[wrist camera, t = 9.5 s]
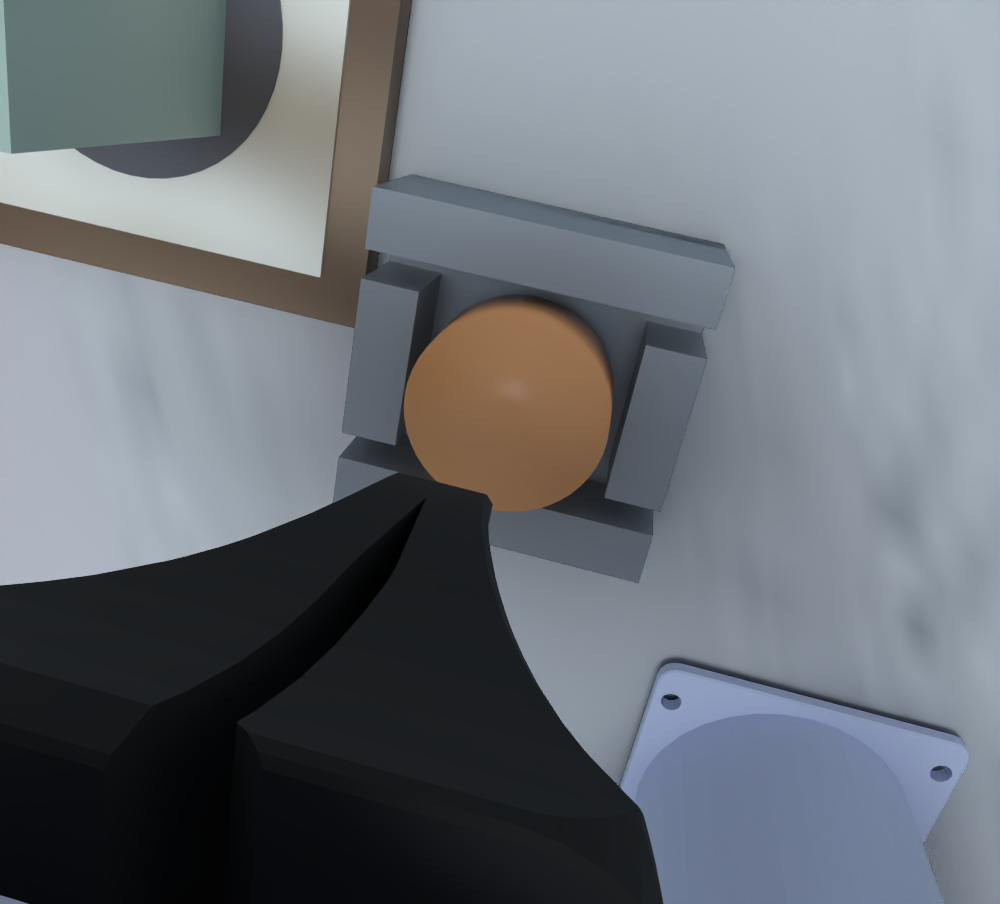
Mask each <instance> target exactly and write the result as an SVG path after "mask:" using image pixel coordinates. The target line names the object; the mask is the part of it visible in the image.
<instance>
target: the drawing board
mask: <svg viewBox="0 0 1000 904" xmlns="http://www.w3.org/2000/svg"><path fill="white" fill-rule="evenodd" d="M411 2H412V0H226V19H225V41H224V63H223V86H222V108H221V130H220V136H210V137H199V138H188V139H176V140H165V141H153V142H142V143H130V144H119V145H107V146H96V147H84V148H73V149H61V150H50V151H38V152H27V153H16V154H9V153H5V152H0V243H1V244H5V245H9V246H13V247H18V248H22V249H26V250H30V251H34V252H39V253H43V254H47V255H51V256H55V257H59V258H64V259H68V260H72V261H76V262H80V263H85V264H89V265H93V266H97V267H101V268H105V269H110V270H114V271H118V272H122V273H126V274H131V275H135V276H139V277H143V278H147V279H151V280H156V281H160V282H164V283H168V284H172V285H176V286H181V287H185V288H189V289H193V290H197V291H202V292H206V293H210V294H214V295H218V296H222V297H227V298H231V299H235V300H239V301H243V302H248V303H252V304H256V305H260V306H264V307H268V308H273V309H277V310H281V311H285V312H289V313H294V314H298V315H302V316H306V317H310V318H314V319H319V320H323V321H327V322H331V323H335V324H340V325H344V326H348V327H352V328H355V323H356V315H357V307H358V299H359V292H360V284H361V278H363V277H364V276H366V275H368V274H369V273H371V272H372V271H374V270H376V266H377V258H378V252H377V251H373V250H368V249H365V244H366V236H367V228H368V220H369V212H370V204H371V196H372V188H373V186H376V185H379V184H382V183H385V182H388V175H389V168H390V160H391V153H392V145H393V138H394V130H395V123H396V115H397V108H398V100H399V92H400V85H401V77H402V70H403V62H404V55H405V47H406V40H407V32H408V25H409V17H410V9H411Z"/></svg>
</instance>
